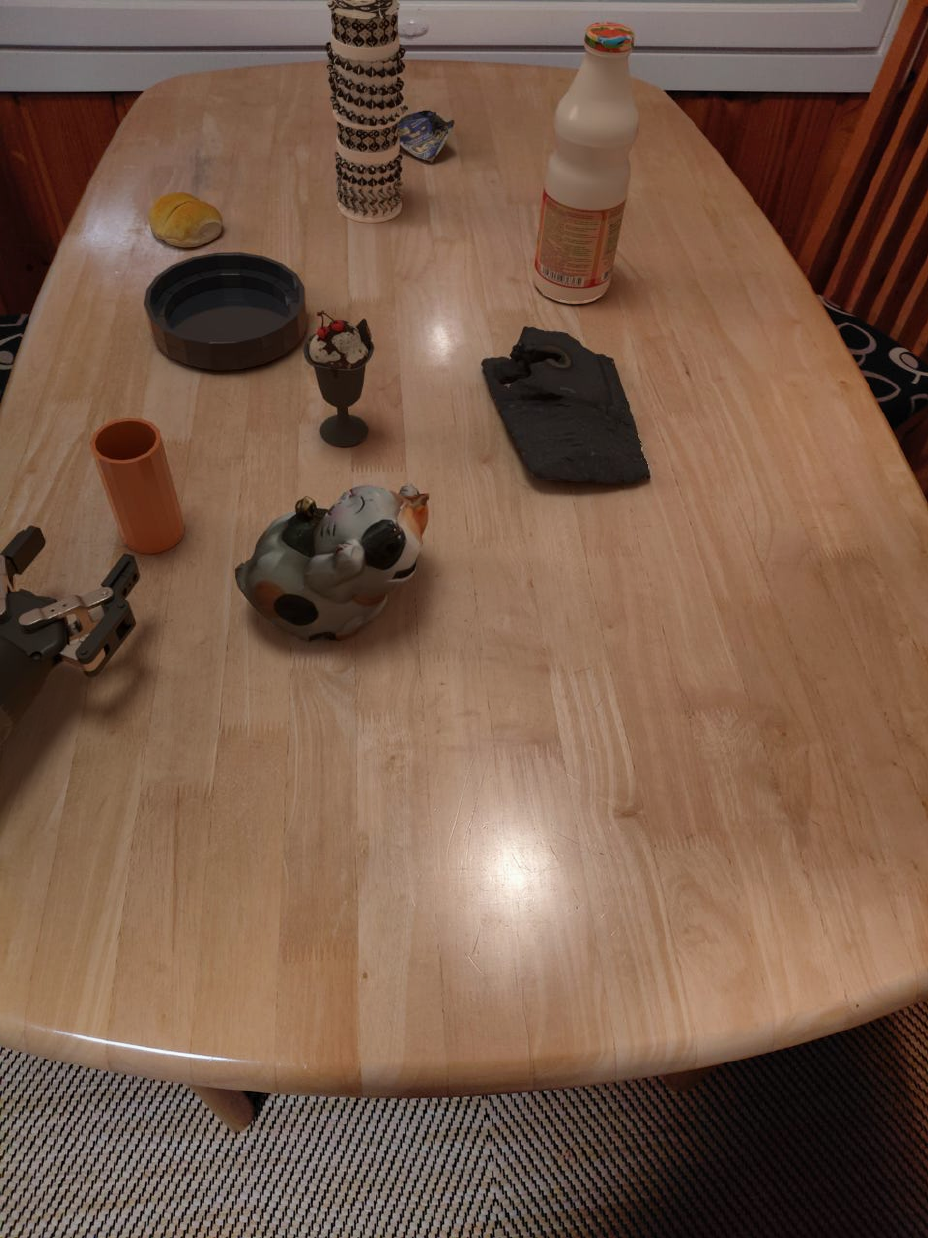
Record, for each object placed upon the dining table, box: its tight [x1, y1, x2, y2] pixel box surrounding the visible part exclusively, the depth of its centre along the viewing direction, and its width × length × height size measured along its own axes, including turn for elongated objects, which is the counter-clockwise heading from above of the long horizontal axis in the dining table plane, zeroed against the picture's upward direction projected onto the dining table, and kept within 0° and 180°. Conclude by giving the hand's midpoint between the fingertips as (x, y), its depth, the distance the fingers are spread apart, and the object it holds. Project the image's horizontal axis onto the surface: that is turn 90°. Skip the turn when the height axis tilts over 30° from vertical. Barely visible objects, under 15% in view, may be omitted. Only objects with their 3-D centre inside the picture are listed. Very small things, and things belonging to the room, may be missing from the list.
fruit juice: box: [532, 21, 640, 301], centre depth 103 cm, size 9×9×28 cm
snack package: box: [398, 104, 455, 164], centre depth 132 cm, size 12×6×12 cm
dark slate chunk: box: [480, 325, 652, 485], centre depth 96 cm, size 15×22×5 cm
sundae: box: [302, 309, 375, 448], centre depth 89 cm, size 7×7×15 cm
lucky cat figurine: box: [234, 482, 430, 643], centre depth 78 cm, size 15×12×14 cm
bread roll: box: [148, 191, 224, 248], centre depth 115 cm, size 8×9×4 cm
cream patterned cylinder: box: [324, 0, 407, 224], centre depth 113 cm, size 9×9×25 cm
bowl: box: [143, 251, 308, 371], centre depth 104 cm, size 17×17×4 cm
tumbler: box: [89, 417, 186, 555], centre depth 81 cm, size 6×6×11 cm
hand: (85, 546), depth 76 cm, fingers open, 8 cm apart
